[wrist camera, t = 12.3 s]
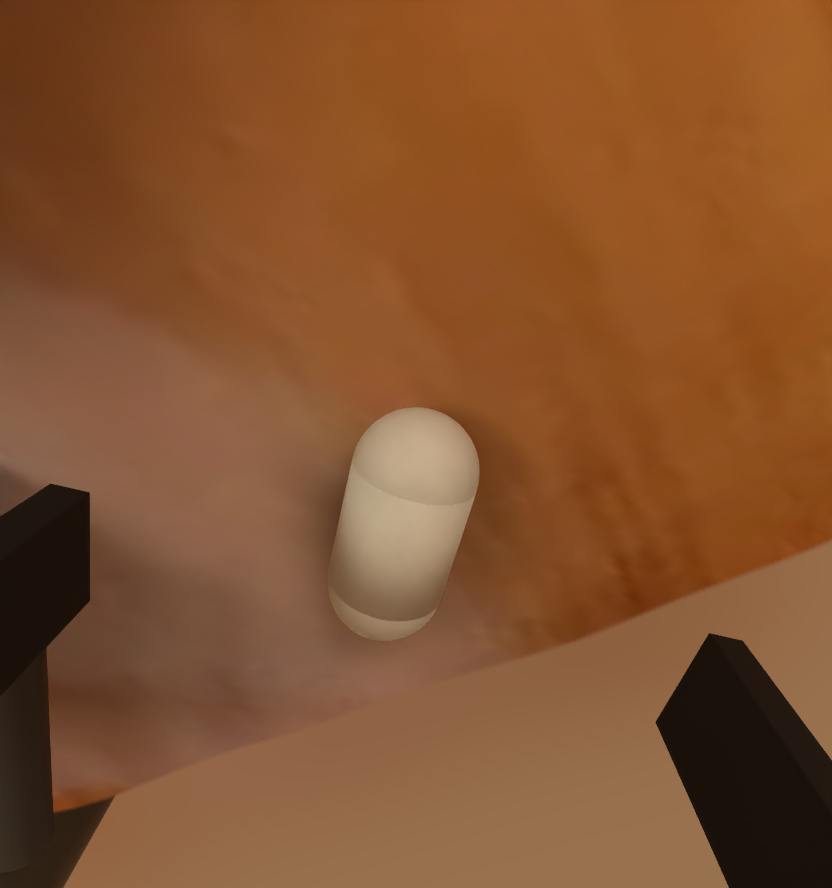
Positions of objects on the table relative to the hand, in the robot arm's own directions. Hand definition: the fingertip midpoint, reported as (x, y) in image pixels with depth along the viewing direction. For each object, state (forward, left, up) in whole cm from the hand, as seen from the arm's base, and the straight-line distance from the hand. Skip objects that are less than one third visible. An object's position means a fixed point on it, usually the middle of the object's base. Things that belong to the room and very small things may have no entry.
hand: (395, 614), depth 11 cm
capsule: (0, 0, -5) cm, 5 cm away
